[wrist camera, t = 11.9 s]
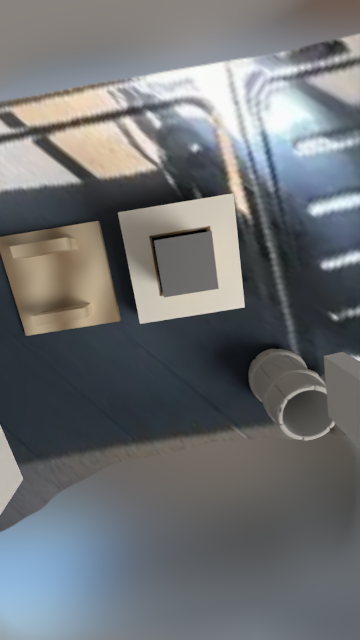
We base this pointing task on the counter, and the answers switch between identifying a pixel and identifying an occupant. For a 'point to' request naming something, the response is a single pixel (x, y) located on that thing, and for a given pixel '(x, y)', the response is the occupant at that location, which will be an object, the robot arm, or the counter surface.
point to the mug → (291, 393)
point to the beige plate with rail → (60, 278)
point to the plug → (186, 264)
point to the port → (176, 220)
